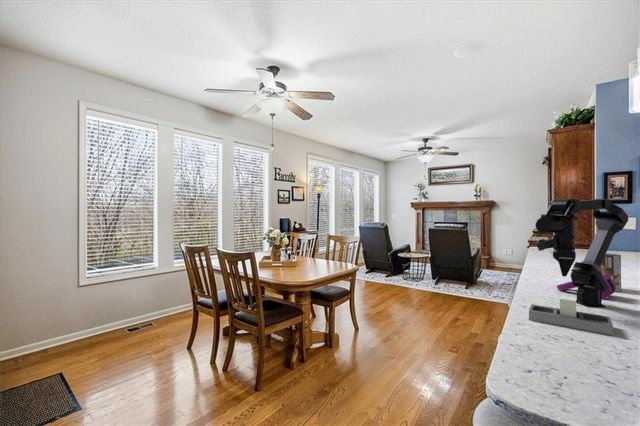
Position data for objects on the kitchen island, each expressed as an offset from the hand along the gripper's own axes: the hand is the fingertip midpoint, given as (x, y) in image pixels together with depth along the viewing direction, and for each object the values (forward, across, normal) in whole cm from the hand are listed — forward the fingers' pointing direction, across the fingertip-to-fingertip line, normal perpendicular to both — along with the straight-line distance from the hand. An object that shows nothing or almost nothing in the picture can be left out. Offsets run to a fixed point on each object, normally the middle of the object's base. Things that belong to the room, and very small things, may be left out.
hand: (564, 274), depth 110 cm
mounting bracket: (+13, -28, +6) cm, 31 cm away
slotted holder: (+12, +18, +1) cm, 22 cm away
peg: (+13, +18, +1) cm, 22 cm away
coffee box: (+13, -44, +14) cm, 48 cm away
